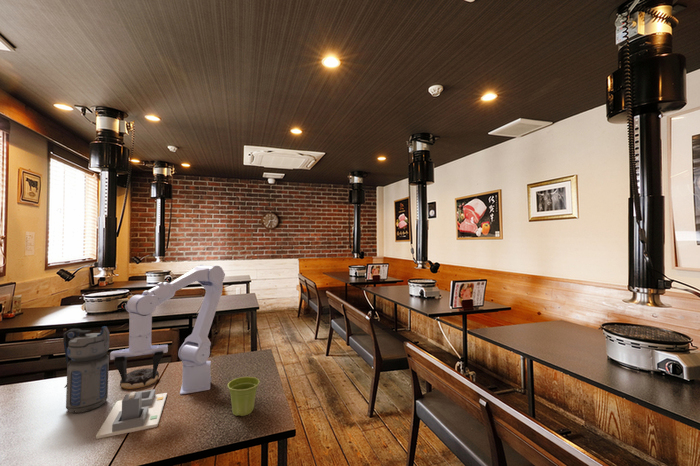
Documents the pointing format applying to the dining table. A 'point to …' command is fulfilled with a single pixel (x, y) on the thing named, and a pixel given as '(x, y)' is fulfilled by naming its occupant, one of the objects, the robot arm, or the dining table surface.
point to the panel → (148, 419)
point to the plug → (131, 406)
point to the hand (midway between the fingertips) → (139, 379)
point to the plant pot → (243, 394)
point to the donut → (139, 378)
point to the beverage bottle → (86, 369)
